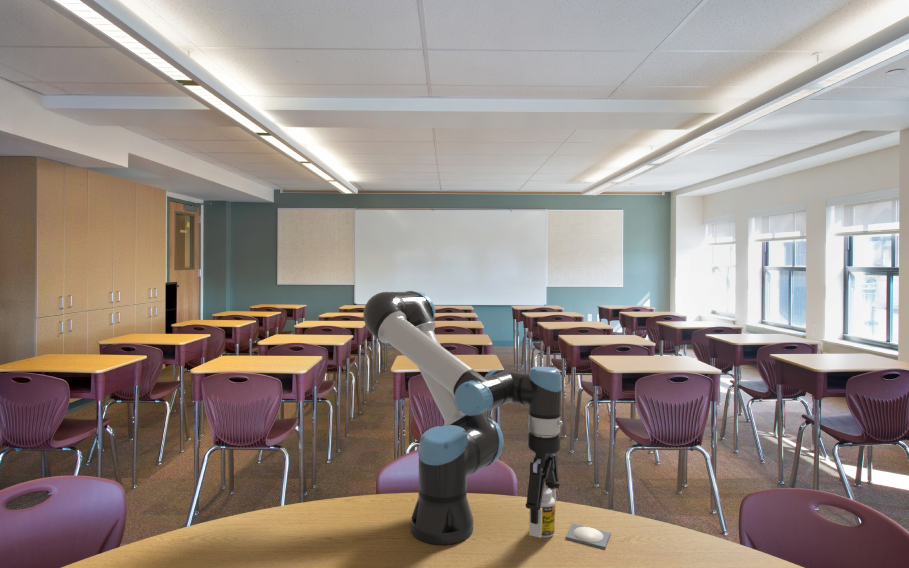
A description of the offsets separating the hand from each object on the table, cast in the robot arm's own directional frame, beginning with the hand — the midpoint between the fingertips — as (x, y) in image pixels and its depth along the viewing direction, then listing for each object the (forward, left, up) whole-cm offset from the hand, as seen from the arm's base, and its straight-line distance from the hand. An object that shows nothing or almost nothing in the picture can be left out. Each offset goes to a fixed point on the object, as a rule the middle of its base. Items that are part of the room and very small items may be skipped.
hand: (542, 524), depth 115 cm
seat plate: (+10, +3, -2) cm, 11 cm away
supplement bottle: (0, 0, -2) cm, 2 cm away
